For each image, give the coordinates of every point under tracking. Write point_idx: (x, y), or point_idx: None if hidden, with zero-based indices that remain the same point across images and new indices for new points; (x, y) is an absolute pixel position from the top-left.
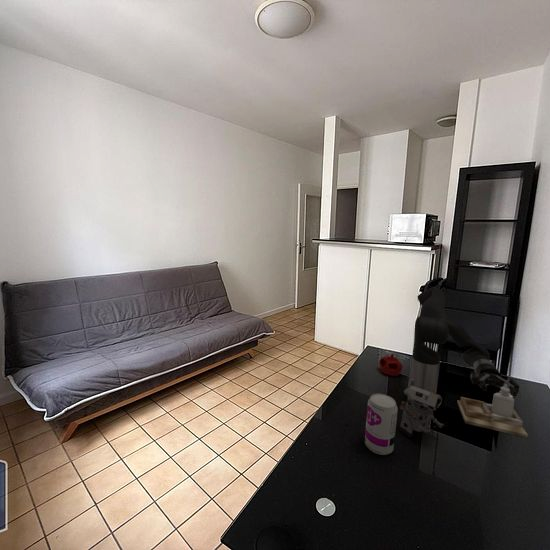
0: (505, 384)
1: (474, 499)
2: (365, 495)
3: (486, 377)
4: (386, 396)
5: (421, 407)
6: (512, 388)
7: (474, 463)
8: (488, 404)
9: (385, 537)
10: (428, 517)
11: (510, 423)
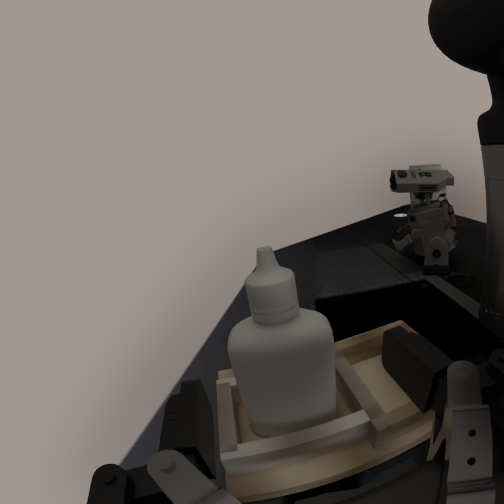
0: (266, 250)
1: (321, 250)
2: (391, 222)
3: (454, 424)
4: (431, 166)
5: (422, 205)
6: (189, 412)
7: (333, 272)
8: (353, 420)
9: (362, 221)
10: (348, 232)
11: None
